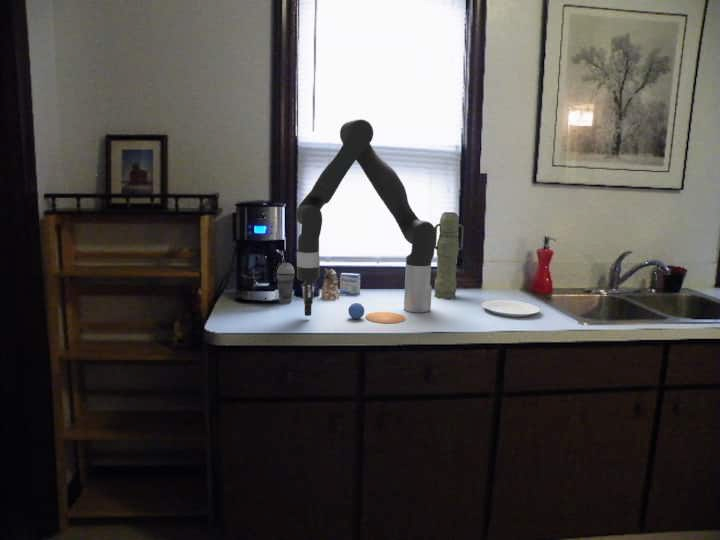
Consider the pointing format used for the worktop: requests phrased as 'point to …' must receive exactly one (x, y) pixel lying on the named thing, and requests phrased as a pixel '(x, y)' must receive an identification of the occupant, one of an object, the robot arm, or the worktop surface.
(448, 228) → the thermos
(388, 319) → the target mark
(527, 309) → the plate
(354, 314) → the ball
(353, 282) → the medicine box
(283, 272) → the beverage cup
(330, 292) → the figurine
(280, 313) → the worktop surface
